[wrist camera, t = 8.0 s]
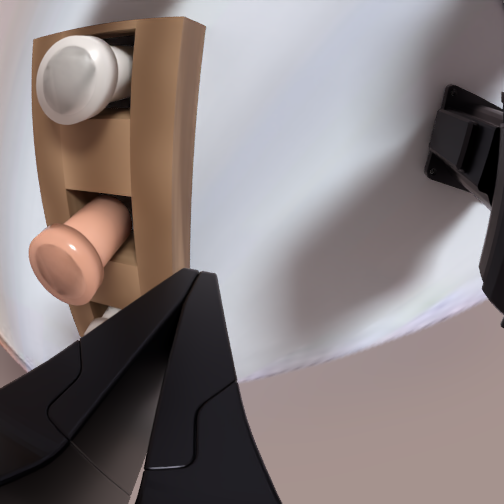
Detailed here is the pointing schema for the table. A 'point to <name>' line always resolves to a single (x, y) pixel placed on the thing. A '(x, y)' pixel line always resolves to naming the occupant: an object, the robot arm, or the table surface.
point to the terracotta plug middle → (80, 249)
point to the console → (129, 156)
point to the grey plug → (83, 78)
